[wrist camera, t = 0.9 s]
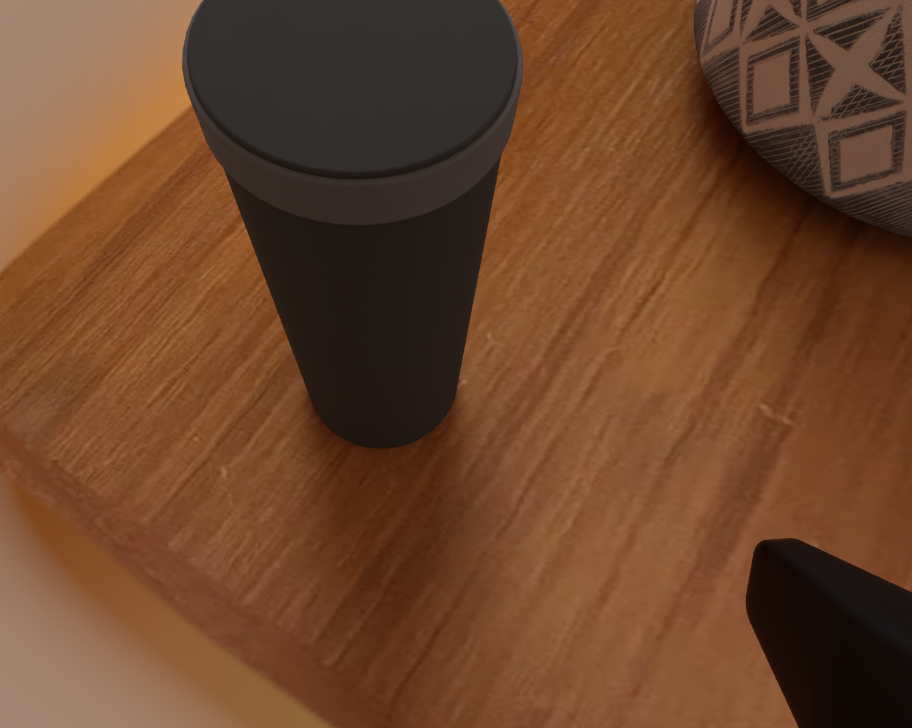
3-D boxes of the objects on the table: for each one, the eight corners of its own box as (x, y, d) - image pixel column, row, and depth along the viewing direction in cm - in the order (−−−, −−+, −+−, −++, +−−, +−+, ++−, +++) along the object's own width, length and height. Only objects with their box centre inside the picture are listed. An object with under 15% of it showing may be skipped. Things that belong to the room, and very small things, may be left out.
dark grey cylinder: (466, 446, 22) (545, 176, 9) (304, 456, 21) (162, 184, 9) (454, 305, 24) (506, -70, 11) (305, 311, 23) (192, -74, 11)
